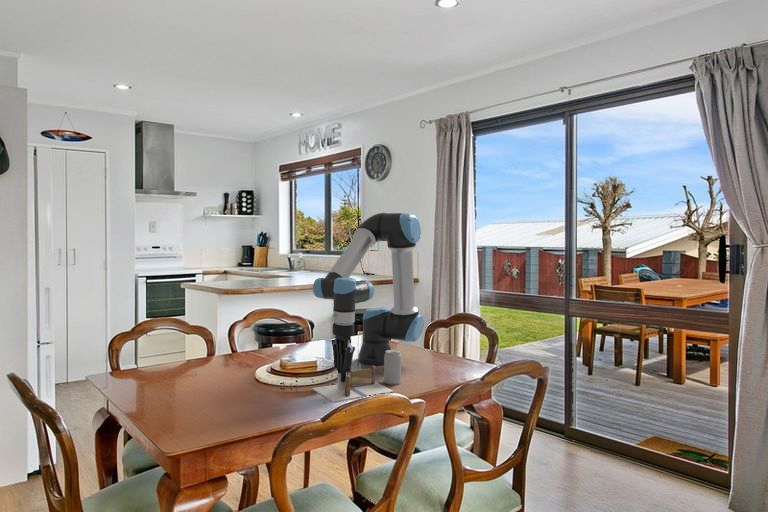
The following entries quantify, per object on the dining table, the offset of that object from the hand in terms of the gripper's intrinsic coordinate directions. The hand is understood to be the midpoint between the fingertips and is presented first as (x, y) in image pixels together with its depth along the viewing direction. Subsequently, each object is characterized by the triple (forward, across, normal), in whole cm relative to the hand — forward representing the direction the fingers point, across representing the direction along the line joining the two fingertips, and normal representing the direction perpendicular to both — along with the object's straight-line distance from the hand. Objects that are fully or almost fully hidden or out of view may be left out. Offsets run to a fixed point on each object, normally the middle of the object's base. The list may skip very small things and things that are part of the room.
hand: (341, 390), depth 187 cm
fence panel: (+1, 0, +3) cm, 3 cm away
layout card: (+2, -2, +6) cm, 6 cm away
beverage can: (+2, -4, +24) cm, 24 cm away
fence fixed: (+2, -5, +11) cm, 12 cm away
